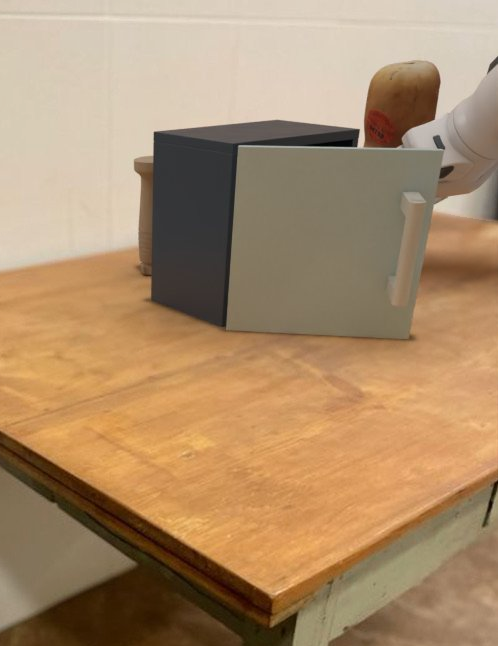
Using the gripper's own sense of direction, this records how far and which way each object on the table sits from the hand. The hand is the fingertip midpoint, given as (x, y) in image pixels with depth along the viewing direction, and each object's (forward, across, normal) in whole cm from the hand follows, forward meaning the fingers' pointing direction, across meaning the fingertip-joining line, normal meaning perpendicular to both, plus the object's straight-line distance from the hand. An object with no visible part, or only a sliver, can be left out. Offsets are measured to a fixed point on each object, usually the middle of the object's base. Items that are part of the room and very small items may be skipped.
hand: (396, 210), depth 119 cm
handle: (+12, +36, -2) cm, 38 cm away
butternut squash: (+18, -16, -8) cm, 25 cm away
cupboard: (-1, +33, +10) cm, 35 cm away
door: (-13, +36, +22) cm, 44 cm away
